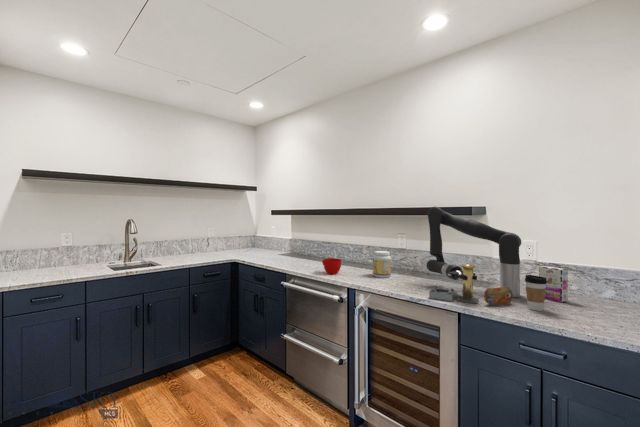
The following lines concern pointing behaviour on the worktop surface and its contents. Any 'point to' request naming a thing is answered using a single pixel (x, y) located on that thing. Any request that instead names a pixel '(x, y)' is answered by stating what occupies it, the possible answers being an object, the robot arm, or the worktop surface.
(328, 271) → the ceramic cup
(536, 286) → the coffee cup
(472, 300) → the pad
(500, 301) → the tin
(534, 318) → the worktop surface
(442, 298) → the housing
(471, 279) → the pin
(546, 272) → the candy bar box
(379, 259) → the supplement tub
